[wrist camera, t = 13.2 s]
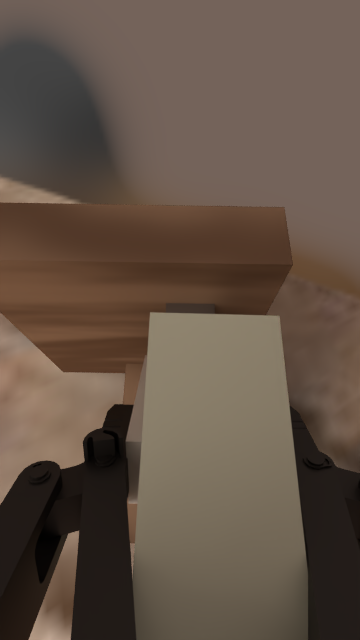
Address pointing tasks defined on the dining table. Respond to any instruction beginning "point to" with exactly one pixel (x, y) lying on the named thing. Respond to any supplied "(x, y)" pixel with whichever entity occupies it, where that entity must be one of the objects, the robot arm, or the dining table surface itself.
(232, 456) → the block
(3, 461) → the dining table surface
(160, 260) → the wooden stand
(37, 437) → the dining table surface
